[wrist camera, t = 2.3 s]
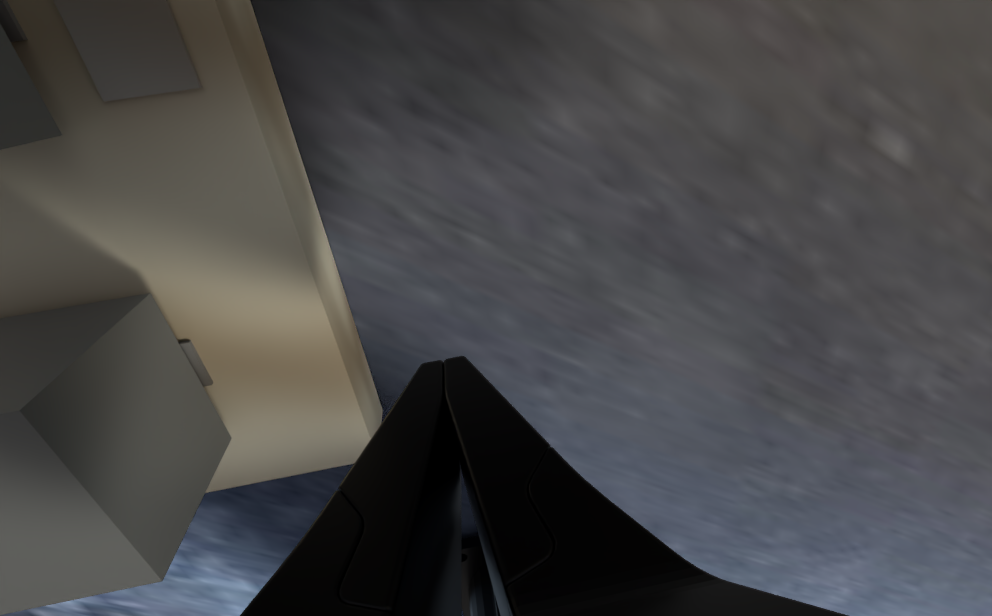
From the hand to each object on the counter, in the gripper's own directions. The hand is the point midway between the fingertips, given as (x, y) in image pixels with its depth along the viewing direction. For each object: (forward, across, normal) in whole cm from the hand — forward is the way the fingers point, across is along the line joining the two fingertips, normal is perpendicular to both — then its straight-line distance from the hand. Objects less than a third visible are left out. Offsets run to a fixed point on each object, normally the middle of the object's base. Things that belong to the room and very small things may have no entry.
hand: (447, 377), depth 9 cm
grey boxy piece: (+2, +8, 0) cm, 8 cm away
